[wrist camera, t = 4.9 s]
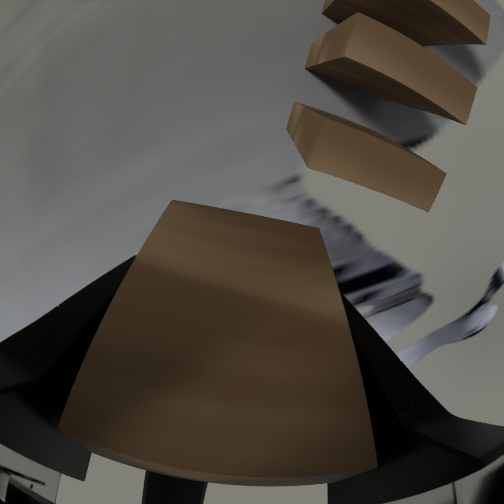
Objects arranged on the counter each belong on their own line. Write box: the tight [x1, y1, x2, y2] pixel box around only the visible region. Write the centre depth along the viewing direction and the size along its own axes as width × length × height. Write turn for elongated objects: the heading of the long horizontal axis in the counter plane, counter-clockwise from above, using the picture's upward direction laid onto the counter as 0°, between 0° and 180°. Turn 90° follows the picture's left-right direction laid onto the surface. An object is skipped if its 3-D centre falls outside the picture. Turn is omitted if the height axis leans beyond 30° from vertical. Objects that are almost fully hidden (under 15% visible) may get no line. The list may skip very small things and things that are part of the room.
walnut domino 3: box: [305, 12, 477, 125], centre depth 10 cm, size 2×6×9 cm, turn 76°
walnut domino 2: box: [322, 0, 490, 46], centre depth 8 cm, size 2×6×9 cm, turn 76°
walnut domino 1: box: [58, 200, 378, 486], centre depth 8 cm, size 2×6×9 cm, turn 78°
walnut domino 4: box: [286, 102, 446, 212], centre depth 13 cm, size 2×6×9 cm, turn 76°
